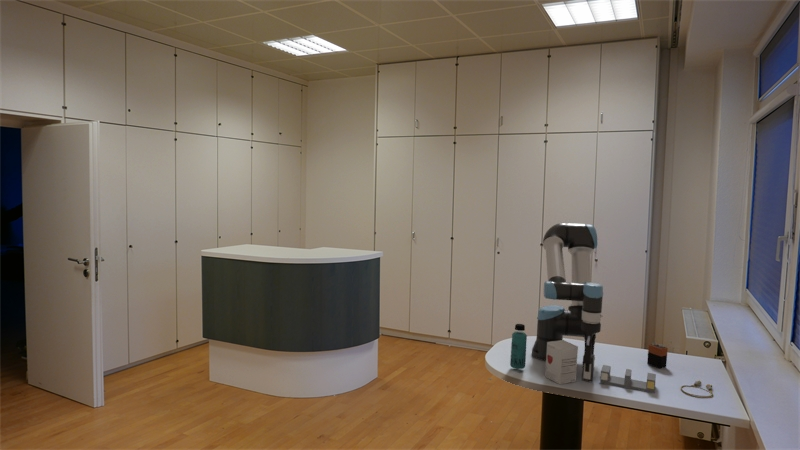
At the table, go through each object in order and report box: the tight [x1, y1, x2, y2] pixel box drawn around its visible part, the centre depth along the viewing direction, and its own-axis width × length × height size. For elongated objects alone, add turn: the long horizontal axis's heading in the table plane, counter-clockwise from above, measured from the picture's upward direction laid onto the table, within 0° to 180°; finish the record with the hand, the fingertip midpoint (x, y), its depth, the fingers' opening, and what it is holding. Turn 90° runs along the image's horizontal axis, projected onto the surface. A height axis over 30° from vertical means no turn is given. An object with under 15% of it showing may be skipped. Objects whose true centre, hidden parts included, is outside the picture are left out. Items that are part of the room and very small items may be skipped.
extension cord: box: [680, 380, 714, 399], centre depth 209 cm, size 12×16×2 cm
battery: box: [647, 342, 668, 369], centre depth 236 cm, size 4×7×10 cm, turn 27°
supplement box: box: [544, 339, 579, 385], centre depth 217 cm, size 9×9×15 cm
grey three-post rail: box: [599, 364, 657, 394], centre depth 213 cm, size 20×8×5 cm, turn 63°
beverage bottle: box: [509, 323, 528, 370], centre depth 226 cm, size 6×7×20 cm
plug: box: [581, 354, 596, 383], centre depth 217 cm, size 4×4×11 cm
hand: (587, 376), depth 218 cm, fingers closed on plug, 4 cm apart
